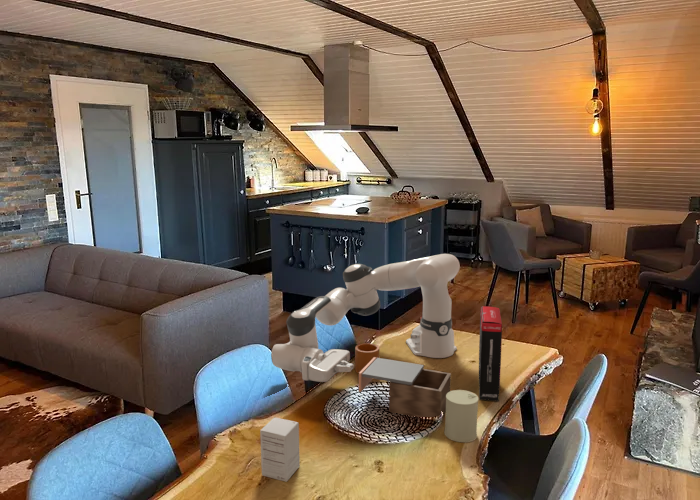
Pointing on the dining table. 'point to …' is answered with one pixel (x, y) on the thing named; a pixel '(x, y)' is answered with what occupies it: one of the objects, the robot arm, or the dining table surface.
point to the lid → (389, 372)
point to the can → (461, 416)
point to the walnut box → (421, 395)
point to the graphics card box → (490, 353)
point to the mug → (365, 355)
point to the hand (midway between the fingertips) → (351, 368)
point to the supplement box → (280, 449)
